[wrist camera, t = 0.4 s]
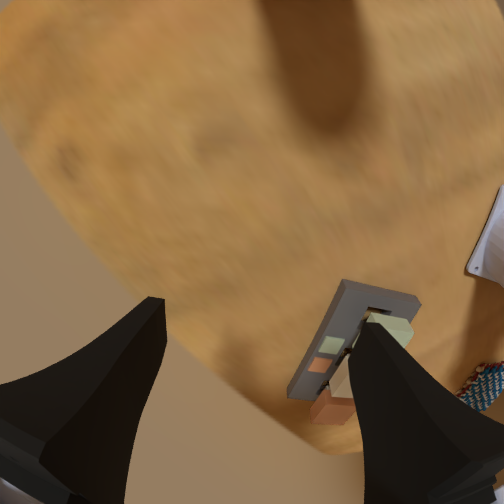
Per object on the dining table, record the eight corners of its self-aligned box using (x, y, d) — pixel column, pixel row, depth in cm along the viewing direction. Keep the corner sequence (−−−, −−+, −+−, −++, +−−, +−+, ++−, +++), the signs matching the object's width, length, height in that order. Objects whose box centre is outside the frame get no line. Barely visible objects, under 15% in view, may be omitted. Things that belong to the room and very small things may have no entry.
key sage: (400, 308, 21) (414, 333, 18) (382, 339, 22) (392, 364, 19) (366, 301, 20) (377, 327, 18) (348, 334, 22) (356, 361, 19)
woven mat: (435, 412, 31) (440, 423, 29) (477, 359, 26) (484, 370, 25) (480, 403, 32) (485, 412, 30) (519, 354, 27) (525, 363, 25)
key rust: (353, 381, 24) (359, 406, 22) (338, 401, 26) (342, 424, 23) (321, 378, 24) (326, 404, 22) (308, 398, 26) (311, 423, 23)
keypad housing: (415, 296, 22) (422, 306, 20) (349, 395, 27) (352, 405, 26) (342, 278, 21) (346, 289, 20) (286, 388, 27) (287, 399, 26)
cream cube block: (375, 348, 22) (385, 374, 20) (358, 373, 24) (365, 398, 21) (342, 344, 22) (349, 371, 20) (326, 370, 24) (331, 396, 21)
